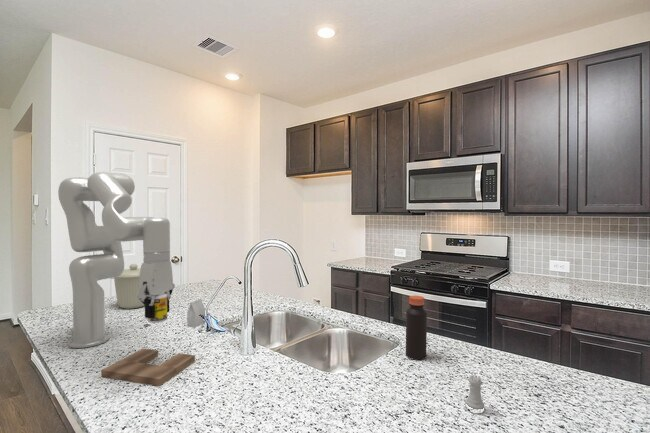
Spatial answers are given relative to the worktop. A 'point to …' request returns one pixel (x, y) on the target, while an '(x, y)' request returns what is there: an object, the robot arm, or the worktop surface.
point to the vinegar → (416, 328)
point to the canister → (128, 288)
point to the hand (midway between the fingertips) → (157, 314)
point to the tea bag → (195, 313)
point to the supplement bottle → (159, 308)
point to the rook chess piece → (475, 393)
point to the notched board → (147, 368)
